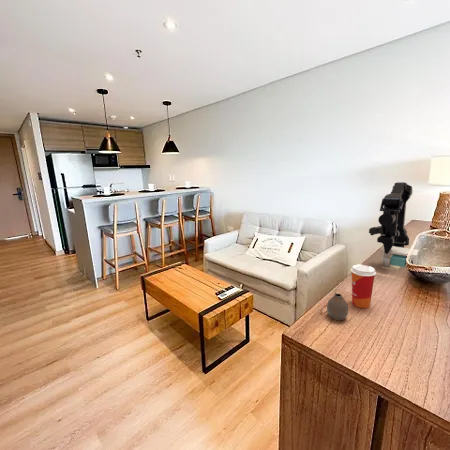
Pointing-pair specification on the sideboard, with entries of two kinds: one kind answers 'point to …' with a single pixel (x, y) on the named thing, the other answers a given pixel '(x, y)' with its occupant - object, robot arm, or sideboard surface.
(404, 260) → the block
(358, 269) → the coffee cup
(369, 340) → the sideboard surface
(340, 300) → the vase
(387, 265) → the sled
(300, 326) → the sideboard surface
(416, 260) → the tunnel
